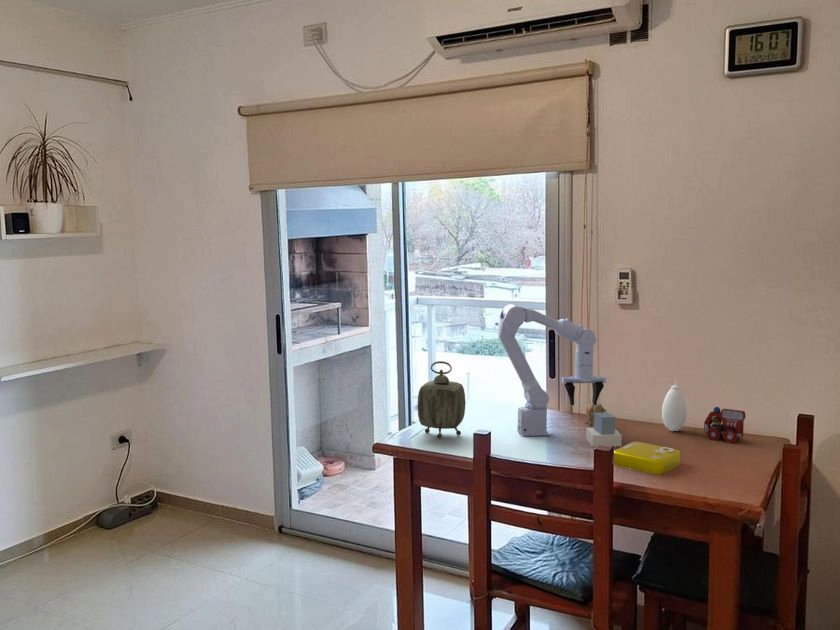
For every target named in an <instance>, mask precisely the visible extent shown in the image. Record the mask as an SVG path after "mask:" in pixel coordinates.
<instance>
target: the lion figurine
mask: <svg viewBox="0 0 840 630" xmlns="http://www.w3.org/2000/svg"><path fill="white" fill-rule="evenodd" d="M585 411H586V417H585V421H584V424H588V428H593V424H592V423H593V422H594V413H603V412H607V409H606V408H604V407H603V405H602V403H601V402H597V405H594V404H593V403H590V404H588V405H587V407H586V410H585Z"/></svg>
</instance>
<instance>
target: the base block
mask: <svg viewBox="0 0 840 630" xmlns="http://www.w3.org/2000/svg"><path fill="white" fill-rule="evenodd" d="M585 432H586V433H585V434H586V436H585V438H586V440H587V442H588V443H589V444H590V446H591V447H593V448H597V447H596V446H598V445H609V446H614V447H613V448H617V447H616V446H621V447H622V439H623V437H622V436H623V435H622V434H621V433H620V432H619V431H618V430H617V429H616V428H615V434H604V435H601V434H600V433H598V432H597V431H595V430H594V427H592V428H589V427H586V431H585Z"/></svg>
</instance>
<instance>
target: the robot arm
mask: <svg viewBox="0 0 840 630" xmlns="http://www.w3.org/2000/svg"><path fill="white" fill-rule="evenodd" d="M524 322H525V323H526V324H527V323H531V322H534V323H537V324H540V325H542V326H545V327H548V328H550V329H552V330H553V331H554V333H555V335H557V336H559V337H562V338H564V339H566V340H568V341H571V342H575V363H574V364H575V365H574V366H575V369H574V376H562V377H561V384H563V385H564V387H565V390H566V392H567V394H568V398H569V404H570V405H571V406H575V390H576V386H575V384H591V386H592V404H594V405H597V403H598V399H599V397H600V394H601V392H602V390H603V389H604V387H605V385H604V384H607V377H606V376H597V375H593V374H594V345H595V344H596V342H597V337H596V334H595V332H594V331H592V330H591V329H589V328H587V327H584V325H583V324H577V323H574V322H572V320H571V319H570V318H560V319H554V318H552V317H550V316H549V315H546V314H543V313H541V312H539V311H537V310H534V309H533V308H529V307H526V306H522V305H519V306H518V305H517V304H515V303H508V304H506V305H504V307H503V308H502V309H501V311H500V314H499V324H498V325H499V327H498V335H497V336H498V338H499V341H500V343H501V344H502V346H503V348H504V350H505V352H506V354H507V357H508V358H509V360H510V362H511V365H513V367H514V370H515V372H516V375H518V378H519V380H520V381H521V385H522V388H523V395H524V398H525V400H526V402H525V405H524V406H522V407H521V406H519V407H518V409H517V429H516V430H517V431H518V433H519V435H521V436H522V437H532V436H534V437H535V436H536V437H539V436H551V433H550V432H549V431H548V430H547V428H548V425H547V423H548V422H547V421H548V419H547V418H548V404H549V402H550V401H549V400H550V397H549V394H548V392H546V391H545V390H544V389H543V388H542V386H541V385H540V383H539V381H538V379H537V378H536V376H535V375H534V372H533V371H532V369H531V366H530V364H529V363H528V360H527V358H526V356H525V355H524V352H523V350H522V349H521V346H520V344H519V343H518V340H517V338H516V334H517V332H518V330H519V328H520V327H521V326H522V325H523V324H524Z"/></svg>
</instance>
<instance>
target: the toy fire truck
mask: <svg viewBox="0 0 840 630" xmlns="http://www.w3.org/2000/svg"><path fill="white" fill-rule="evenodd" d="M745 419H746V412H745V411H744V410H739V409H733V408H722V409H721V408H720V407H718V406H715V407H714V408H713V411H710V412H709V414H708V415H707V417H706V419H705V420H704V422H703V423H704V424H703V431H704V433H705V434H707V437H708V438H709V440H711V439H712V441H717V440H719V439H721V437H722V438H723V440H724V441H725V442H726V443H728V442H732V443H731V444H733V443H735V442H736V441H737V440H739V439H741V438H743V437H744V428H745V427H744V421H745Z"/></svg>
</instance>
